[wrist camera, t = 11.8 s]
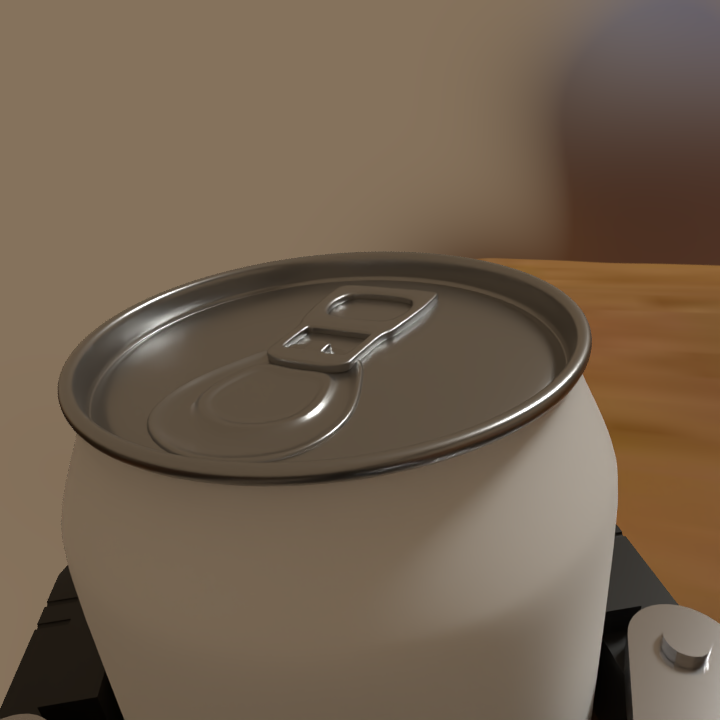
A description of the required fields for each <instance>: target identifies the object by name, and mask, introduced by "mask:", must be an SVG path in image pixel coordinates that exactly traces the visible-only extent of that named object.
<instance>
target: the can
mask: <svg viewBox="0 0 720 720" xmlns="http://www.w3.org/2000/svg"><path fill="white" fill-rule="evenodd" d="M591 347H592V336H591V330H590V326H589V323H588V321H587V319H586V317H585V315H584V313H583V312H582V310H581V309H580V308H579V307H578V305H577V304H576V303H575V302H574V301H573V300H572V299H571V298H570V297H568V296H567V295H566V294H565V293H563V292H562V291H561V290H559V289H558V288H556V287H554V286H553V285H551V284H549V283H547V282H545V281H543V280H541V279H539V278H537V277H535V276H532V275H530V274H527V273H525V272H522V271H519V270H516V269H513V268H510V267H506V266H503V265H499V264H495V263H491V262H486V261H482V260H476V259H470V258H465V257H458V256H450V255H441V254H430V253H416V252H354V253H337V254H325V255H316V256H307V257H299V258H292V259H285V260H279V261H273V262H267V263H262V264H257V265H252V266H247V267H243V268H239V269H235V270H230V271H226V272H223V273H219V274H215V275H211V276H208V277H205V278H201V279H198V280H195V281H192V282H189V283H186V284H183V285H180V286H177V287H175V288H172V289H169V290H167V291H164V292H162V293H159V294H157V295H155V296H152V297H150V298H148V299H146V300H144V301H142V302H139V303H137V304H135V305H134V306H131V307H129V308H128V309H126V310H124V311H122V312H120V313H119V314H117V315H116V316H114V317H112V318H111V319H109V320H108V321H106V322H105V323H103V324H102V325H101V326H99V327H98V328H97V329H95V330H94V331H93V332H92V333H90V334H89V335H88V336H87V337H86V338H85V339H84V340H83V341H82V342H81V343H80V344H79V345H78V346H77V347H76V348H75V349H74V351H73V352H72V353H71V355H70V356H69V357H68V359H67V361H66V362H65V364H64V366H63V369H62V371H61V374H60V377H59V382H58V399H59V404H60V407H61V410H62V412H63V414H64V417H65V418H66V420H67V421H68V423H69V424H70V426H71V427H72V428H73V430H74V431H75V432H76V433H77V435H76V440H75V444H74V448H73V453H72V457H71V461H70V465H69V470H68V474H67V479H66V485H65V491H64V497H63V506H62V520H61V522H62V523H61V525H62V538H63V543H64V549H65V552H66V558H67V562H68V567H69V571H70V574H71V577H72V580H73V583H74V586H75V589H76V592H77V595H78V598H79V601H80V604H81V607H82V609H83V612H84V615H85V618H86V621H87V624H88V626H89V629H90V631H91V634H92V637H93V639H94V642H95V645H96V647H97V650H98V653H99V655H100V658H101V661H102V663H103V666H104V668H105V671H106V674H107V676H108V679H109V682H110V684H111V687H112V689H113V692H114V694H115V697H116V700H117V702H118V705H119V707H120V710H121V712H122V715H123V718H124V720H591V717H592V710H593V703H594V695H595V688H596V680H597V673H598V665H599V658H600V650H601V643H602V635H603V628H604V620H605V612H606V604H607V596H608V588H609V580H610V572H611V564H612V556H613V548H614V537H615V527H616V516H617V504H618V475H617V463H616V457H615V453H614V449H613V445H612V442H611V439H610V436H609V433H608V430H607V428H606V425H605V423H604V420H603V418H602V415H601V413H600V411H599V409H598V406H597V404H596V402H595V400H594V398H593V396H592V394H591V392H590V389H589V387H588V385H587V383H586V381H585V379H584V377H583V372H584V370H585V368H586V366H587V363H588V361H589V357H590V353H591Z"/></svg>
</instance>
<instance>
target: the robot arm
mask: <svg viewBox="0 0 720 720" xmlns="http://www.w3.org/2000/svg"><path fill="white" fill-rule="evenodd" d="M37 625H38V628H37V630H35V631H34V633H33V635H32V637H31V640H30V642H29V645H28V647H27V649H26V651H25V654H24V656H23V658H22V660H21V663H20V665H19V667H18V670H17V672H16V674H15V677H14V679H13V681H12V683H11V686H10V688H9V690H8V692H7V695H6V697H5V699H4V701H3V704H2V706H1V708H0V720H124V718H123V715H122V712H121V710H120V707H119V705H118V702H117V700H116V697H115V694H114V692H113V689H112V687H111V684H110V682H109V679H108V676H107V674H106V671H105V668H104V666H103V663H102V661H101V658H100V655H99V653H98V650H97V647H96V645H95V642H94V639H93V637H92V634H91V631H90V629H89V626H88V624H87V621H86V618H85V615H84V612H83V609H82V607H81V604H80V601H79V598H78V595H77V592H76V589H75V586H74V583H73V580H72V577H71V574H70V571H69V567H68V566H67V567H66V568H65V569H64V570H63V571H62V572H61V573H60V574H59V576H58V578H57V580H56V583H55V585H54V587H53V589H52V592H51V594H50V596H49V599H48V601H47V607H45V608H44V610H43V612H42V615H41V617H40V619H39V622H38V624H37ZM591 720H720V624H719V623H717V622H716V621H715V620H713V619H711V618H710V617H708V616H706V615H704V614H702V613H700V612H698V611H695V610H693V609H690V608H687V607H683V606H679V605H678V604H677V603H676V601H675V600H674V599H673V597H672V596H671V595H670V594H669V592H668V591H667V590H666V588H665V587H664V586H663V584H662V583H661V582H660V581H659V579H658V578H657V577H656V575H655V574H654V573H653V571H652V570H651V569H650V568H649V566H648V565H647V564H646V562H645V561H644V560H643V558H642V557H641V556H640V555H639V553H638V552H637V551H636V549H635V548H634V547H633V545H632V544H631V543H630V542H629V540H628V539H627V538H626V536H623V535H622V531H621V530H620V529H619V527H618V526H617V525H616V527H615V537H614V548H613V556H612V564H611V572H610V580H609V588H608V596H607V604H606V612H605V620H604V628H603V635H602V643H601V650H600V658H599V665H598V673H597V680H596V688H595V695H594V703H593V710H592V717H591Z"/></svg>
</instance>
